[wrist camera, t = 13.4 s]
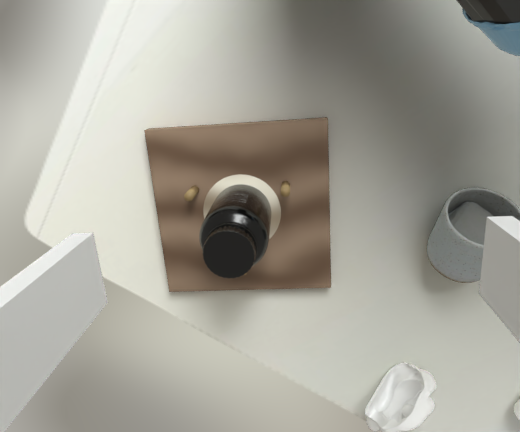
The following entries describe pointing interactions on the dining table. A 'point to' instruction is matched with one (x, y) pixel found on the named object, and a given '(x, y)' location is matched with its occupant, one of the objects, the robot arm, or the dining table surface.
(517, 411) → the white irregular lump
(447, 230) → the ceramic mug
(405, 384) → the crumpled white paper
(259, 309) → the dining table surface
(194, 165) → the pin board
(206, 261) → the supplement bottle
